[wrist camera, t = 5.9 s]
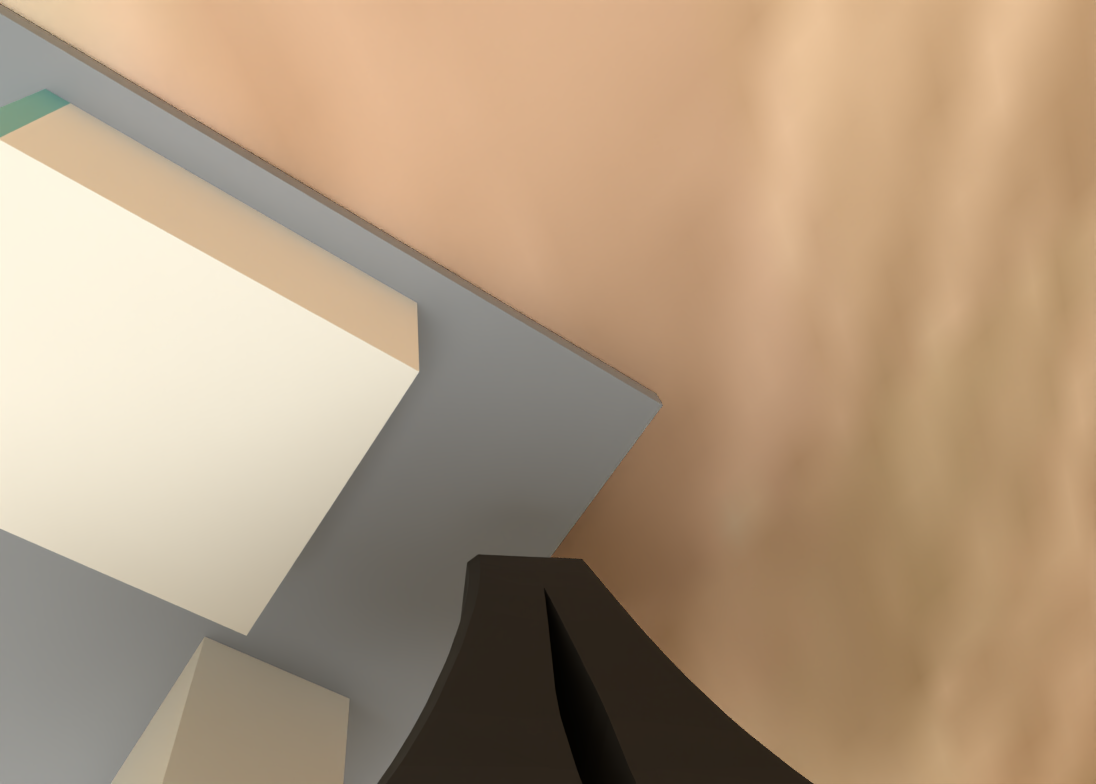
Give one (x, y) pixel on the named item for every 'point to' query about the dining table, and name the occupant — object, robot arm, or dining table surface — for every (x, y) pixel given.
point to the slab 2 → (241, 727)
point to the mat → (355, 516)
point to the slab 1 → (175, 367)
